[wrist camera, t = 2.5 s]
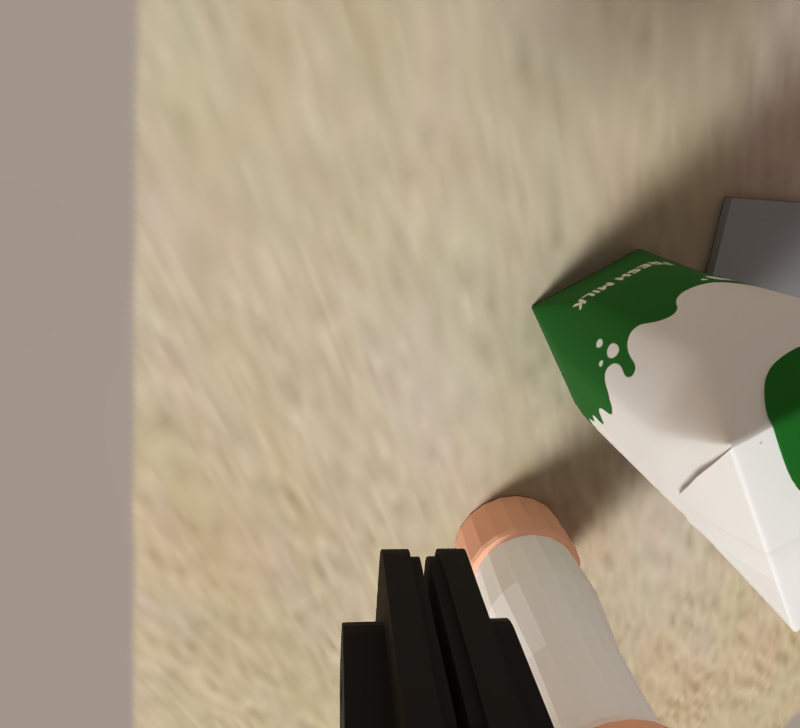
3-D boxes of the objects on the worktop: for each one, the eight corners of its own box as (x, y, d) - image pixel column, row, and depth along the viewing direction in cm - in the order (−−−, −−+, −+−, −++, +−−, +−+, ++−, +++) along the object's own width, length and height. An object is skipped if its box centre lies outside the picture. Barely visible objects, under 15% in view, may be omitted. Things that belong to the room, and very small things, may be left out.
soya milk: (648, 226, 31) (1119, 303, 12) (694, 358, 34) (1131, 582, 15) (509, 301, 32) (757, 483, 13) (567, 424, 35) (836, 718, 16)
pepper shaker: (531, 476, 36) (726, 783, 18) (577, 552, 38) (790, 893, 20) (435, 531, 36) (528, 882, 18) (486, 603, 39) (612, 976, 21)
